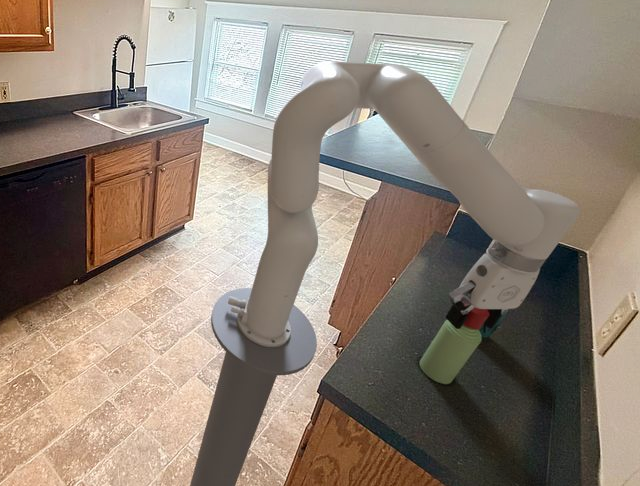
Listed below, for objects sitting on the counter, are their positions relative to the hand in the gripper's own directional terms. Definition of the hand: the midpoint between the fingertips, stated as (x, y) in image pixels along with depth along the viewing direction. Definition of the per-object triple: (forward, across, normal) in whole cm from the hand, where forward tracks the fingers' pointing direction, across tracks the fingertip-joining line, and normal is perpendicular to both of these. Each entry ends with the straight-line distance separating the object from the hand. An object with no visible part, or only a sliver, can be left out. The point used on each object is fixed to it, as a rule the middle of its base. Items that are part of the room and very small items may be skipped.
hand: (468, 322), depth 78 cm
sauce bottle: (+15, 0, 0) cm, 15 cm away
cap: (0, 0, 0) cm, 0 cm away
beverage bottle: (+16, +19, +10) cm, 27 cm away
